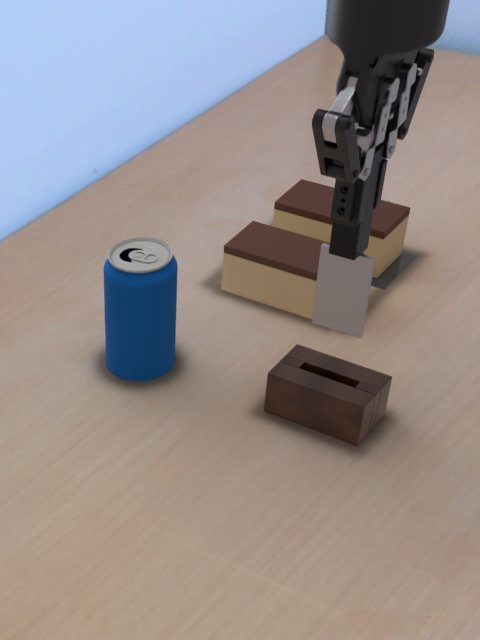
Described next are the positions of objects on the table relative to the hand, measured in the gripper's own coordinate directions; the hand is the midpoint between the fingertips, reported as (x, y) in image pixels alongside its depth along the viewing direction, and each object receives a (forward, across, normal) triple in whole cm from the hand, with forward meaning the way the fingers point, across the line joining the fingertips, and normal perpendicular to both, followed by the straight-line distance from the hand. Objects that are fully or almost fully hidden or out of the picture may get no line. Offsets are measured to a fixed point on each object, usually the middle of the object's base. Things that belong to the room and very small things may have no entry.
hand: (355, 213), depth 82 cm
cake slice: (+19, +15, +12) cm, 27 cm away
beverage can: (+20, -2, +18) cm, 27 cm away
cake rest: (+19, +24, +12) cm, 33 cm away
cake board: (+19, +20, +12) cm, 30 cm away
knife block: (+19, 0, 0) cm, 19 cm away
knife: (+10, 0, 0) cm, 10 cm away
